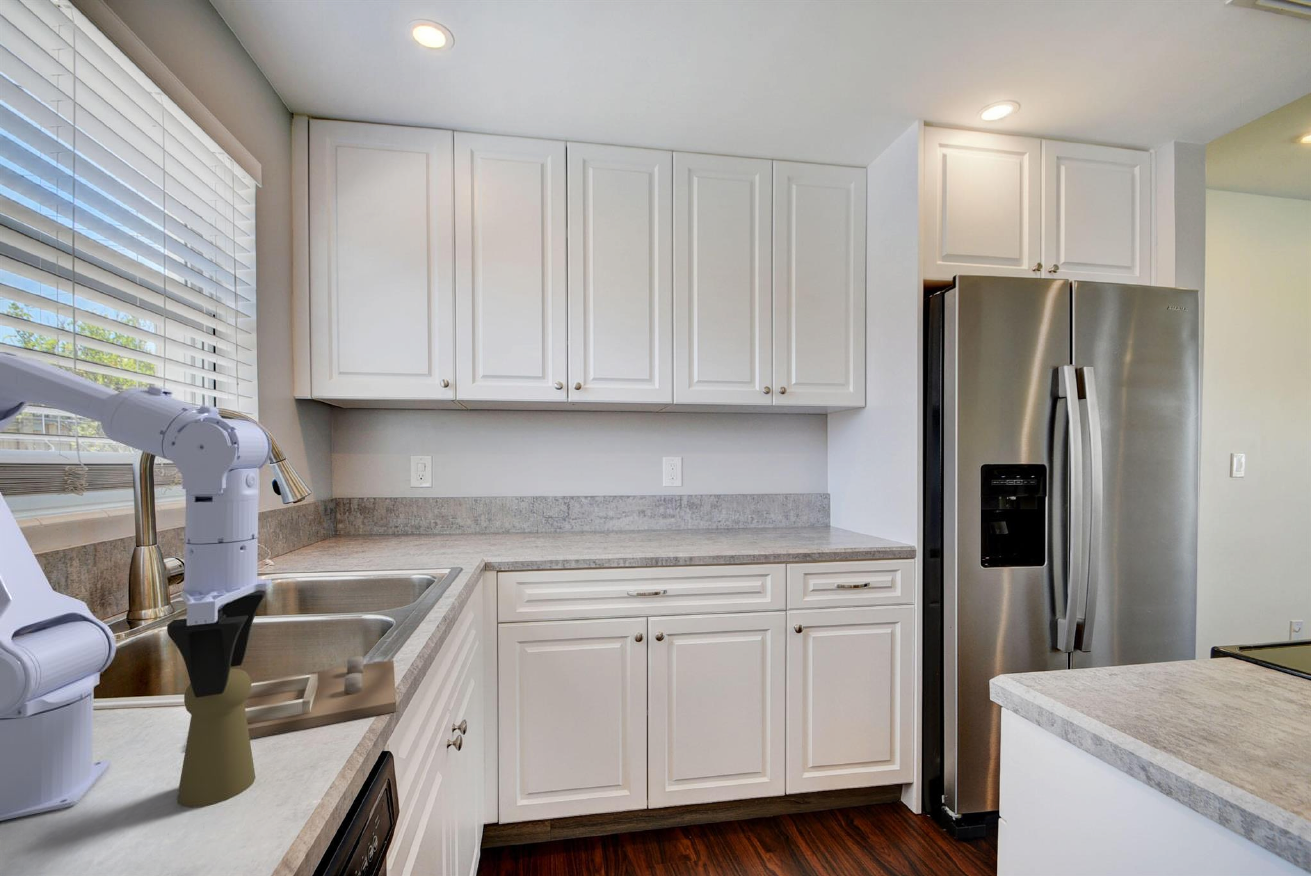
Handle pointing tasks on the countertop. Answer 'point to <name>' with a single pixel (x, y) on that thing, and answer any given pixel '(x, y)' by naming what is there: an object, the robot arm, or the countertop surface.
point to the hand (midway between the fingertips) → (220, 679)
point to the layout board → (320, 697)
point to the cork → (217, 745)
